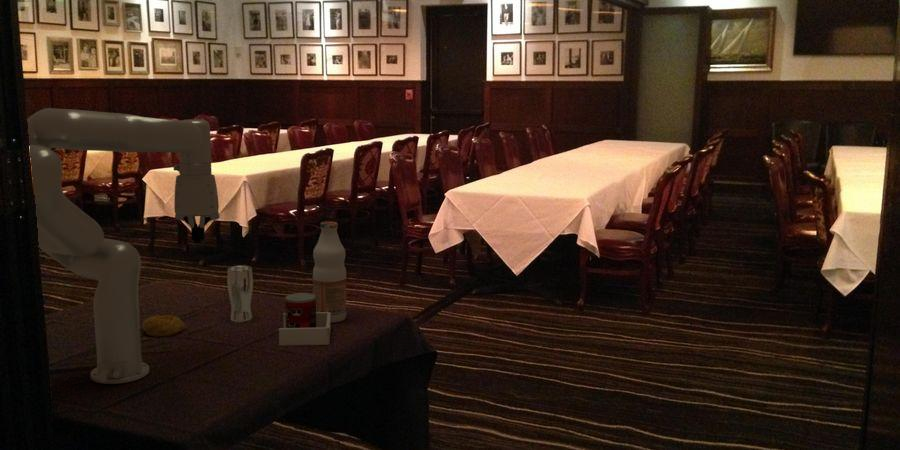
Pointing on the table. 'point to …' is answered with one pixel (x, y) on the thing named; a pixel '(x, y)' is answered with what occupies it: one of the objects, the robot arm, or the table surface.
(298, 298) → the canned food
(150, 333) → the bagel
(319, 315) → the box
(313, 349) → the table surface
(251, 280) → the beer glass
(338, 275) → the fruit juice
